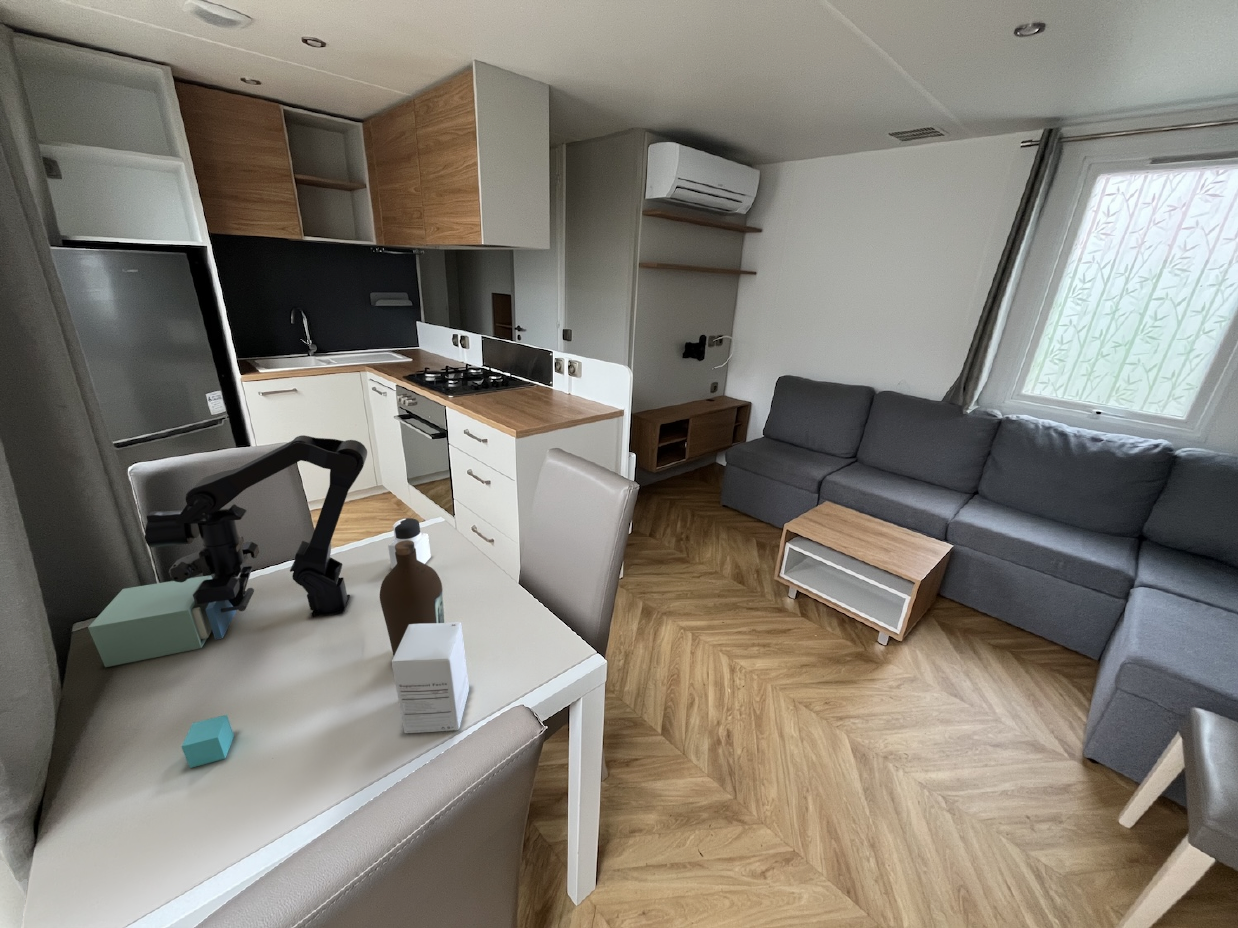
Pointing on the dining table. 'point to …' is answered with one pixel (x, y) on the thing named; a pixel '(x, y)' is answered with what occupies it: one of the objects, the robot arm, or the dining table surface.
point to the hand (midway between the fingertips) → (237, 605)
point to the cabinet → (148, 623)
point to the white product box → (431, 677)
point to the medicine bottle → (410, 531)
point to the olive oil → (410, 594)
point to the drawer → (217, 615)
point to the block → (208, 741)
